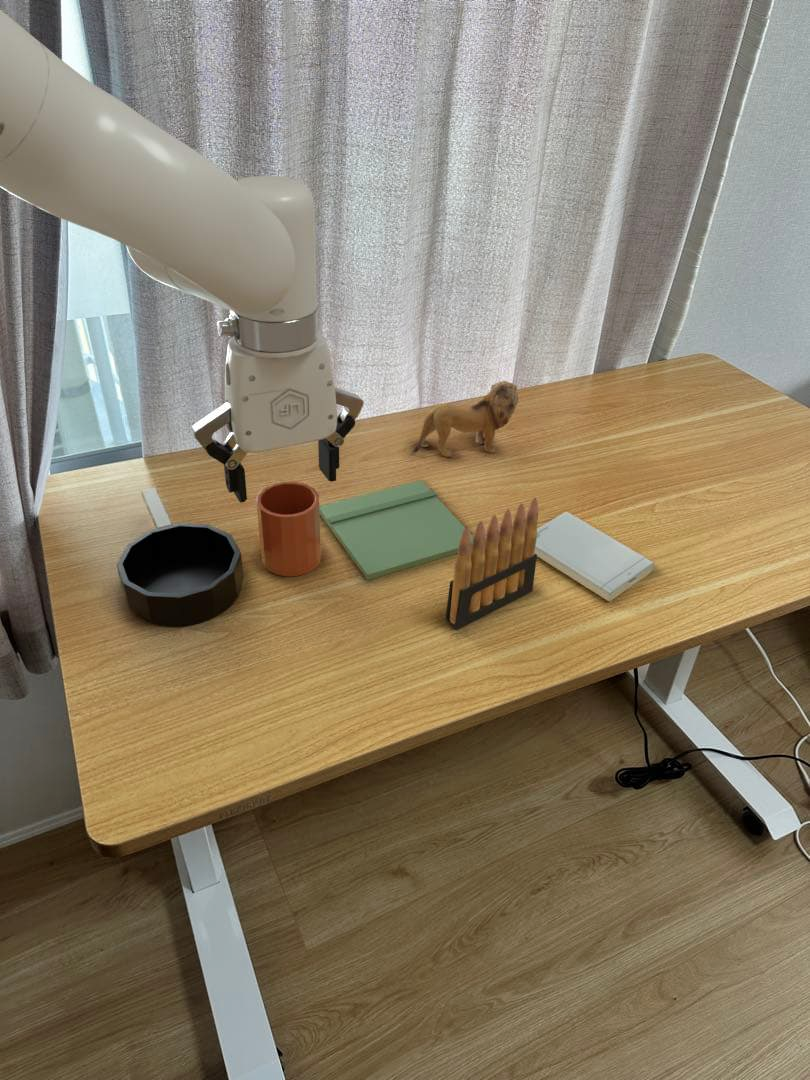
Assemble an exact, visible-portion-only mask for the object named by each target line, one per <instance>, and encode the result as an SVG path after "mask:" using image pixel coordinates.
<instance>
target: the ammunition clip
mask: <svg viewBox="0 0 810 1080" xmlns="http://www.w3.org/2000/svg"><path fill="white" fill-rule="evenodd" d="M538 502H539V501H538V499H537V498H536V497H533V499H531V501H530V504H529V505H528V507H527V510H526V508H525V505H524V503H523V502H522V503H520V504H519V505H518V506H517V508H516V511H515V513H514V517H513V516H512V512H511V510H510V509H509V508H508V509H506V510H505V512H504V513H503V515H502V518H501V522H500V525H499V519H498V517H497V515H495V514H493V516H492V517H491V519H490V521H489V523H488V526H487V530H486V529H485V525H484V522H483V521H482V520H480V521H479V522H478V523H477V525H476V527H475V529H474V533H473V543H472V547H471V535H470V533H471V530H470V529H469V527H467V526H466V527H465V529H464V531H463V533H462V536H461V539H460V543H459V549H458V553H457V555H456V559H455V562H454V568H453V578H452V579H453V580H451V581H449V588H448V596H447V603H446V610H445V619H444V620H445V621H446V622H447V623H448V624H450V626H452V627H453V629H455V630H460V629H462V628H464V627H466V626H468V625H470V624H472V623H473V622H475V621H478V620H480V619H481V618H484V617H486V616H487V615H490V614H491V613H494V612H495V611H497V610H499V609H501V608H503V607H505V606H507V605H508V604H510V603H512V602H514V601H516V600H519V599H520V598H522V597H524V596H527V595H528V594H530V593H532V592H533V588H534V582H535V575H536V567H537V560H538V559H537V558H538V556H537V555H536V554H534V552H535V546H536V540H537V528H538V522H539V521H538V520H539V503H538Z"/></svg>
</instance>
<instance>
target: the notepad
mask: <svg viewBox="0 0 810 1080" xmlns="http://www.w3.org/2000/svg"><path fill="white" fill-rule="evenodd" d="M320 517H321V518H322V519H323V520H324V522H325V523H326V525H327V526H328V527H329V529H330V530H331V532H332V533H333V535H334V536H335V537H336V539H337V540H338V541H339V543H340V544H341V546H342V547H343V548H344V550H345V551H346V552H347V554H348V555H349V557H350V559H352V561H353V562H354V564H355V565H356V567H357V568H358V569H359V571H360V572H361V574H362V576H364V578H365V579H366V581H371V580H373V579H377V578H380V577H384V576H386V575H389V574H394V573H396V572H400V571H404V570H406V569H410V568H413V567H417V566H420V565H423V564H426V563H431V562H433V561H436V560H440V559H443V558H447V557H450V556H453V555H456V554H458V549H459V543H460V539H461V536H462V533H463V531H464V529H465V528H466V527H465V526H464V525H463V523H462V522H461V521H460V520H459V519H458V518H457V517H456V516H455V514H453V513H452V511H451V510H450V509H449V508H448V507H447V506H446V505H445V504H444V503H443V502H442V501H441V500H440V499H439V498H438V497H437V493H436V492H435V491H434V490H431V489H430V487H428V486H427V485H426V483H425V482H424V481H423V480H420V479H419V480H417V481H413V482H409V483H405V484H401V485H396V486H393V487H390V488H384V489H382V490H377V491H373V492H370V493H369V492H368V493H365V494H361V495H357V496H354V497H350V498H346V499H342V500H337V501H334V502H330V503H326V504H322V505H320ZM470 535H471V547H472V543H473V536H474V534H472V533H471V532H470Z"/></svg>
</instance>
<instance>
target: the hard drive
mask: <svg viewBox="0 0 810 1080" xmlns="http://www.w3.org/2000/svg"><path fill="white" fill-rule="evenodd" d="M534 554H536V555H537V558H539V559H540V560H542V561H544V562H545V563H547V564H548V565H550V566H552V567H553V568H555V569H556V570H558V571H559V572H561V573H563V574H565V575H566V576H568V577H569V578H571V579H572V580H574V581H575V582H577V583H578V584H581V585H582V586H583V587H585V588H587V589H588V590H589V591H591V592H593V593H595V594H596V595H597V596H599V597H601V598H602V599H604V600H606V601H607V602H611V601H613V600H614V599H615V598H617V597H618V596H620V595H621V594H623V593H624V592H626V591H627V590H628V589H630V588H631V587H633V586H635V585H636V584H638V582H640V581H641V580H642V579H644V578H646V577H647V576H649V575H650V574H651V573H652V572H653V571H654V567H655V564H656V563H655V562H654V561H652V560H651V559H649V558H647V557H646V556H644V555H643V554H641V553H639V552H637V551H635V550H634V549H632V548H630V547H629V546H628V545H626V544H624V543H622V542H620V541H619V540H617V539H615V538H613V537H612V536H610V535H609V534H607V533H605V532H603V531H601V530H599V529H598V528H596V527H594V526H592V525H591V524H589V523H588V522H586V521H584V520H582V519H581V518H579V517H577V516H576V515H574V514H572V513H571V512H568V511H565V512H563V513H561V514H559V515H558V516H556V517H554V518H552V519H551V520H549V521H548V522H545V523H544V524H542V525H541V526H540V527H537V540H536V546H535V552H534Z"/></svg>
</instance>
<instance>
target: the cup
mask: <svg viewBox="0 0 810 1080" xmlns="http://www.w3.org/2000/svg"><path fill="white" fill-rule="evenodd" d="M320 506H321V505H320V494H319V493H318V491H317V490H316V489H315V488H314V487H312V486H311V485H309V484H307V483H302V482H298V481H281V482H277V483H273V484H270V485H269V486H267V487H265V488H263V489H262V490H261V491H260V492H259V493H258V494H257V496H256V512H257V522H258V523H257V524H258V534H259V542H260V543H259V544H260V553H261V560H262V564H263V566H264V567H265V568H266V570H268V571H269V572H270V573H272V574H274V575H278V576H282V577H297V576H298V577H299V576H302V575H306V574H308V573H310V572H312V571H314V570H315V569H316V568H317V567H318V566H319V564H320V563H321V560H322V539H321V538H322V535H321V515H320Z"/></svg>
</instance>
